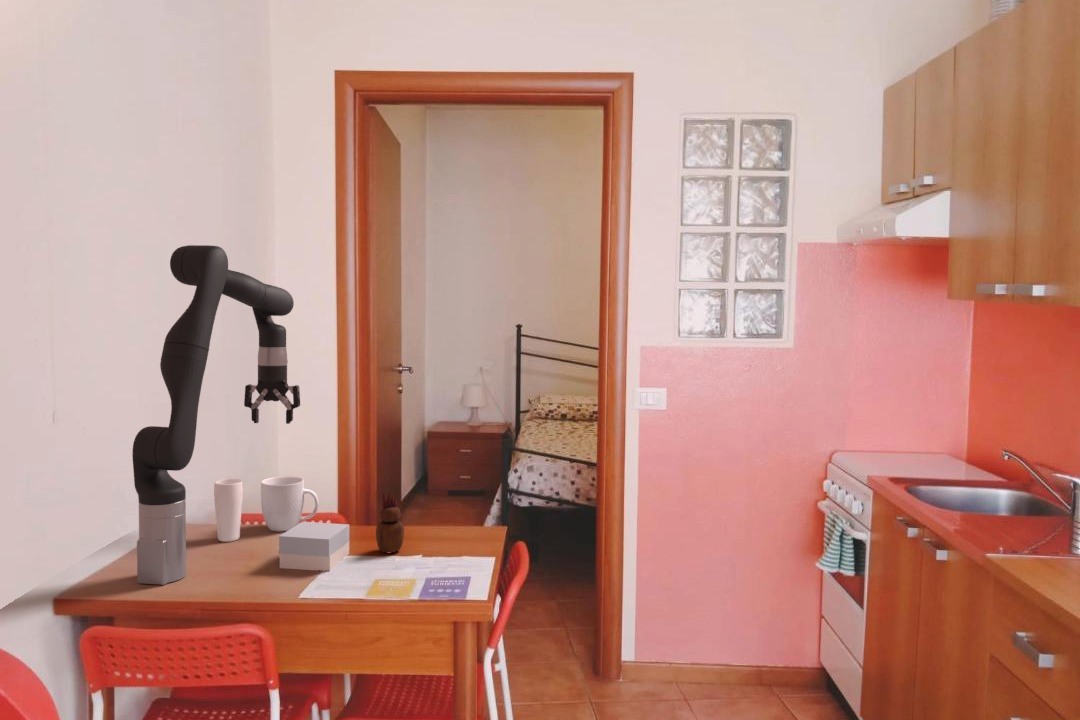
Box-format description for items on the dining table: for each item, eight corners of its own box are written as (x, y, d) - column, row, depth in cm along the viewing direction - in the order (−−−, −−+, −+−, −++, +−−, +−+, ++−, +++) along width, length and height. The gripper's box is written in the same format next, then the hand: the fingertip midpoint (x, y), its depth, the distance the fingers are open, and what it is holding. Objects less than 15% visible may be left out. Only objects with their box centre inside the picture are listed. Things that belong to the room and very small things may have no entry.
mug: (320, 521, 214) (320, 475, 213) (317, 533, 203) (317, 484, 202) (264, 523, 211) (264, 476, 210) (257, 535, 200) (257, 485, 199)
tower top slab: (329, 556, 174) (329, 539, 173) (279, 553, 175) (279, 536, 175) (349, 540, 185) (349, 524, 185) (302, 537, 187) (302, 521, 187)
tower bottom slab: (329, 573, 174) (329, 556, 174) (279, 570, 176) (279, 553, 175) (349, 556, 186) (349, 540, 186) (302, 553, 188) (302, 537, 187)
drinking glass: (215, 536, 198) (215, 479, 197) (243, 534, 200) (243, 478, 199) (213, 544, 192) (212, 485, 191) (242, 542, 194) (241, 483, 193)
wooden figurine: (376, 555, 185) (377, 495, 184) (375, 548, 191) (375, 489, 190) (404, 554, 187) (405, 493, 186) (402, 546, 193) (403, 488, 192)
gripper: (241, 364, 202) (241, 424, 203) (296, 365, 204) (295, 425, 205) (249, 362, 210) (249, 420, 211) (302, 363, 211) (302, 421, 212)
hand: (272, 423), depth 208 cm, fingers open, 8 cm apart
